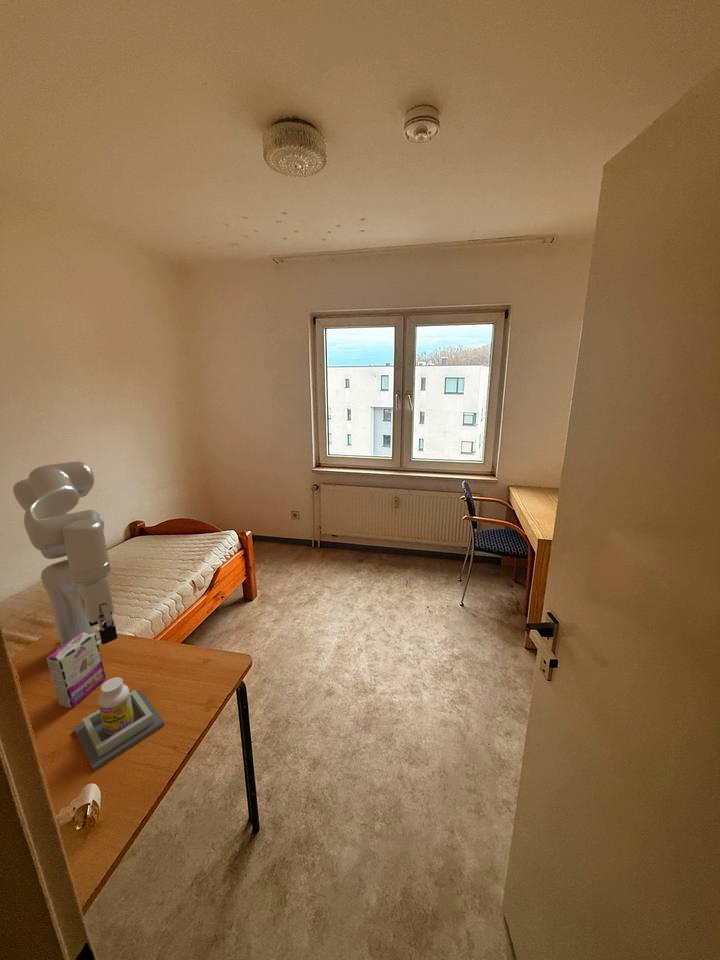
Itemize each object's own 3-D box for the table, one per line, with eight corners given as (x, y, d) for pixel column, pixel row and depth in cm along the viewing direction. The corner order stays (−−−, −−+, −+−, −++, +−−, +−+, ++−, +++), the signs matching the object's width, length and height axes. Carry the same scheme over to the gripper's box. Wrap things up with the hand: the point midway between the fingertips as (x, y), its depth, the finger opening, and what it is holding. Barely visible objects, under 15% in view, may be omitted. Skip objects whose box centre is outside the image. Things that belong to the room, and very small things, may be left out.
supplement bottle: (100, 739, 93) (90, 697, 89) (109, 716, 99) (101, 677, 95) (130, 732, 94) (122, 691, 91) (137, 711, 100) (130, 671, 97)
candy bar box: (92, 676, 114) (82, 630, 109) (106, 678, 113) (97, 632, 108) (57, 706, 103) (44, 657, 99) (72, 709, 102) (60, 660, 98)
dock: (74, 730, 96) (71, 719, 95) (141, 692, 108) (139, 682, 107) (93, 771, 86) (90, 759, 85) (164, 724, 98) (162, 713, 97)
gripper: (62, 564, 90) (75, 624, 95) (82, 591, 80) (96, 657, 84) (98, 554, 96) (109, 610, 101) (121, 578, 85) (132, 640, 90)
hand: (103, 632), depth 92 cm, fingers open, 9 cm apart
